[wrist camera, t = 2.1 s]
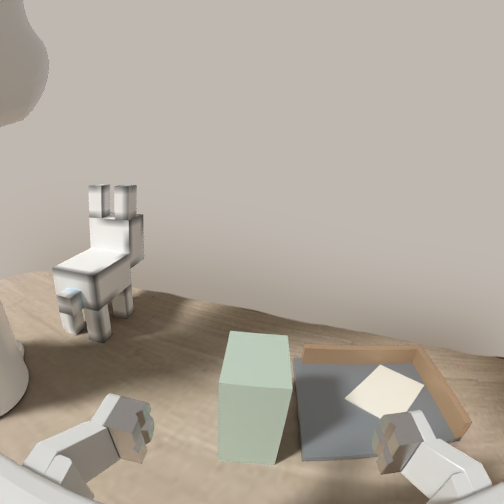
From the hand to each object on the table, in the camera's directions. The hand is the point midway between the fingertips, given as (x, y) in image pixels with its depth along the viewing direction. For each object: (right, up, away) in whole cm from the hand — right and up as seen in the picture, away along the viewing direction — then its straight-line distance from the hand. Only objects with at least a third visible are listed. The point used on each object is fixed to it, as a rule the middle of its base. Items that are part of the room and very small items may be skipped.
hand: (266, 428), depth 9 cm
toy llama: (-24, -5, +34) cm, 42 cm away
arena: (+13, -11, +21) cm, 27 cm away
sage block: (-1, -12, +16) cm, 20 cm away
